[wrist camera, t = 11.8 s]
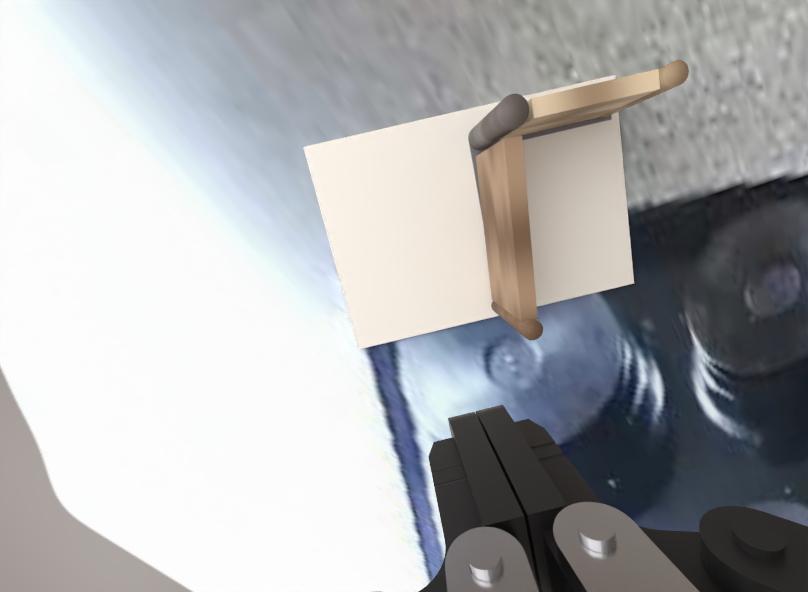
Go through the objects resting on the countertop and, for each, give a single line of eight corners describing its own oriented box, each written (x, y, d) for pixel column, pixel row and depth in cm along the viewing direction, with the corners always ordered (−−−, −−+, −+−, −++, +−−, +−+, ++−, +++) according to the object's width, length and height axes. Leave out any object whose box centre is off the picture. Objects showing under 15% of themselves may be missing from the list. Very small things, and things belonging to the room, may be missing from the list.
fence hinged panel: (474, 156, 26) (504, 137, 20) (491, 153, 26) (526, 133, 20) (492, 313, 28) (524, 341, 22) (507, 311, 28) (543, 338, 22)
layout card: (611, 77, 26) (616, 74, 25) (630, 282, 29) (634, 283, 29) (304, 148, 26) (303, 146, 25) (358, 347, 29) (358, 349, 28)
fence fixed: (608, 95, 26) (687, 53, 19) (610, 119, 26) (689, 86, 20) (466, 128, 26) (496, 97, 19) (470, 152, 26) (501, 130, 19)
